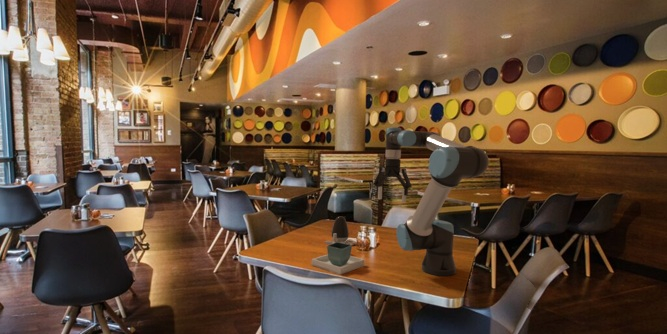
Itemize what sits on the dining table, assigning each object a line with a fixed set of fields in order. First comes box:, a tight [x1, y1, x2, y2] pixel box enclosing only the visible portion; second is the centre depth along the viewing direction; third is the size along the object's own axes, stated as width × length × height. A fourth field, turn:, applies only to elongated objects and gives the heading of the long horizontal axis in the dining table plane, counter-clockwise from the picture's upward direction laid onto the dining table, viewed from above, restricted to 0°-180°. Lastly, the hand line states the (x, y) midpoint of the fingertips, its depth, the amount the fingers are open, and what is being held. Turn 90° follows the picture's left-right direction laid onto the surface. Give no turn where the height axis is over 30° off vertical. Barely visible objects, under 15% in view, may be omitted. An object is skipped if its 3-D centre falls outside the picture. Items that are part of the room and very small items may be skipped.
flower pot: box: [326, 242, 353, 266], centre depth 169 cm, size 9×9×9 cm
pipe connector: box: [324, 233, 345, 245], centre depth 191 cm, size 10×10×10 cm
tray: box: [311, 253, 365, 276], centre depth 170 cm, size 18×18×3 cm
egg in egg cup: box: [330, 215, 350, 243], centre depth 213 cm, size 10×10×15 cm
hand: (391, 200), depth 183 cm, fingers open, 13 cm apart
